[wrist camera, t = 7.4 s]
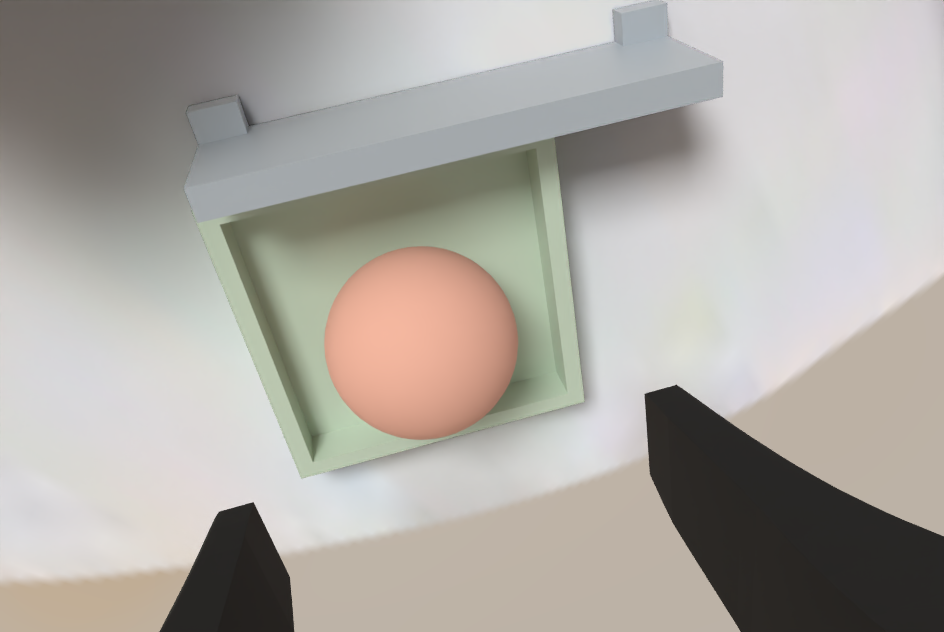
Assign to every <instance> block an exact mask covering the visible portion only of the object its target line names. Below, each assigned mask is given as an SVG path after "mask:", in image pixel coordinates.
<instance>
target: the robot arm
mask: <svg viewBox="0 0 944 632" xmlns="http://www.w3.org/2000/svg"><path fill="white" fill-rule="evenodd" d="M645 407H646V422H647V437H648V452H649V467H650V475H651V477H652V480H653V482H654V484H655V486H656V488H657V491H658V493H659V495H660V497H661V499H662V501H663V504H664V506H665V508H666V510H667V512H668V514H669V516H670V518H671V520H672V522H673V524H674V525H675V527H676V529H677V530H678V532H679V534H680V535H681V537H682V539H683V540H684V542H685V543H686V545H687V547H688V548H689V550H690V551H691V553H692V555H693V556H694V558H695V560H696V561H697V563H698V564H699V566H700V567H701V569H702V571H703V572H704V573H705V575H706V577H707V578H708V580H709V582H710V583H711V585H712V586H713V588H714V590H715V591H716V593H717V594H718V596H719V597H720V599H721V601H722V602H723V604H724V606H725V607H726V609H727V610H728V612H729V613H730V615H731V617H732V618H733V620H734V621H735V623H736V625H737V626H738V628H739V630H740V631H741V632H944V536H941V535H939V534H936V533H934V532H931V531H929V530H927V529H924V528H922V527H919V526H917V525H914V524H912V523H909V522H907V521H904V520H902V519H900V518H898V517H895V516H893V515H891V514H888V513H886V512H884V511H882V510H880V509H878V508H876V507H873V506H871V505H869V504H867V503H865V502H863V501H861V500H859V499H857V498H855V497H853V496H851V495H849V494H847V493H845V492H843V491H841V490H839V489H837V488H835V487H833V486H831V485H830V484H828V483H826V482H824V481H822V480H821V479H819V478H817V477H815V476H814V475H812V474H810V473H808V472H807V471H805V470H803V469H802V468H800V467H798V466H796V465H795V464H793V463H791V462H790V461H788V460H786V459H785V458H783V457H782V456H780V455H778V454H777V453H775V452H774V451H772V450H771V449H769V448H767V447H766V446H764V445H763V444H761V443H760V442H758V441H757V440H755V439H753V438H752V437H750V436H749V435H747V434H746V433H745V432H743V431H742V430H740V429H739V428H737V427H735V426H734V425H733V424H731V423H730V422H728V421H727V420H726V419H724V418H723V417H721V416H720V415H718V414H717V413H716V412H714V411H713V410H711V409H710V408H709V407H707V406H706V405H704V404H703V403H702V402H700V401H699V400H697V399H696V398H695V397H693V396H692V395H690V394H689V393H688V392H686V391H685V390H683V389H682V388H680V387H679V386H677V385H675V386H671V387H667V388H664V389H660V390H657V391H653V392H649V393H646V394H645ZM160 632H294V622H293V608H292V597H291V585H290V577H289V575H288V573H287V570H286V568H285V566H284V564H283V562H282V560H281V558H280V556H279V554H278V552H277V550H276V548H275V546H274V544H273V541H272V539H271V537H270V535H269V533H268V531H267V529H266V527H265V525H264V523H263V521H262V519H261V517H260V515H259V513H258V511H257V508H256V506H255V504H254V502H253V503H249V504H245V505H242V506H238V507H235V508H231V509H227V510H224V511H220V512H219V513H218V514H217V516H216V517H215V519H214V521H213V524H212V526H211V528H210V530H209V532H208V534H207V537H206V539H205V541H204V543H203V545H202V547H201V550H200V552H199V554H198V556H197V558H196V560H195V562H194V564H193V566H192V569H191V571H190V573H189V575H188V577H187V579H186V581H185V583H184V585H183V587H182V589H181V591H180V593H179V595H178V597H177V599H176V601H175V603H174V605H173V607H172V609H171V611H170V612H169V614H168V616H167V618H166V620H165V622H164V624H163V626H162V628H161V630H160Z"/></svg>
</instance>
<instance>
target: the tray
mask: <svg viewBox="0 0 944 632" xmlns="http://www.w3.org/2000/svg"><path fill="white" fill-rule="evenodd" d="M191 211H192V210H191ZM192 214H193V216H194V213H193V211H192ZM194 219H195V221H196V224H197V226H198V228H199V231H200V233H201V236H202V238H203V241H204V243H205V245H206V248H207V250H208V253H209V255H210V258H211V260H212V262H213V265H214V267H215V270H216V272H217V275H218V277H219V280H220V282H221V284H222V287H223V289H224V292H225V294H226V297H227V299H228V301H229V304H230V306H231V309H232V311H233V314H234V316H235V318H236V321H237V323H238V326H239V328H240V331H241V333H242V335H243V338H244V340H245V343H246V345H247V348H248V350H249V353H250V355H251V357H252V360H253V362H254V365H255V367H256V370H257V372H258V374H259V377H260V379H261V382H262V384H263V387H264V389H265V391H266V394H267V396H268V399H269V401H270V404H271V406H272V408H273V411H274V413H275V416H276V418H277V421H278V423H279V426H280V428H281V430H282V433H283V435H284V438H285V440H286V443H287V445H288V447H289V450H290V452H291V455H292V457H293V460H294V462H295V464H296V467H297V469H298V472H299V474H300V477H301V479H302V478H306V477H309V476H313V475H317V474H320V473H324V472H328V471H331V470H335V469H339V468H343V467H346V466H350V465H354V464H357V463H361V462H365V461H368V460H372V459H376V458H379V457H383V456H387V455H390V454H394V453H398V452H402V451H405V450H409V449H413V448H416V447H420V446H424V445H427V444H431V443H435V442H438V441H442V440H446V439H449V438H453V437H457V436H461V435H464V434H468V433H472V432H475V431H479V430H483V429H486V428H490V427H494V426H497V425H501V424H505V423H508V422H512V421H516V420H520V419H523V418H527V417H531V416H534V415H538V414H542V413H545V412H549V411H553V410H556V409H560V408H564V407H567V406H571V405H575V404H579V403H582V402H585V401H584V393H583V384H582V375H581V366H580V358H579V349H578V340H577V331H576V322H575V314H574V305H573V296H572V287H571V279H570V270H569V261H568V252H567V243H566V235H565V226H564V217H563V208H562V199H561V191H560V182H559V173H558V164H557V156H556V147H555V138H550V139H545V140H541V141H537V142H533V143H529V144H525V145H520V146H516V147H512V148H508V149H504V150H500V151H495V152H491V153H487V154H483V155H479V156H475V157H471V158H466V159H462V160H458V161H454V162H450V163H446V164H441V165H437V166H433V167H429V168H425V169H421V170H416V171H412V172H408V173H404V174H400V175H396V176H392V177H387V178H383V179H379V180H375V181H371V182H367V183H362V184H358V185H354V186H350V187H346V188H342V189H337V190H333V191H329V192H325V193H321V194H317V195H313V196H308V197H304V198H300V199H296V200H292V201H288V202H283V203H279V204H275V205H271V206H267V207H263V208H258V209H254V210H250V211H246V212H242V213H238V214H234V215H229V216H225V217H221V218H217V219H213V220H209V221H204V222H200V223H197V220H196V218H195V216H194ZM417 246H428V247H437V248H443V249H446V250H450V251H453V252H456V253H458V254H460V255H463V256H465V257H467V258H469V259H471V260H472V261H474V262H475V263H477V264H478V265H479V266H481V267H482V268H483V269H484V270H485V271H486V272H488V273H489V274H490V275H491V276H492V277H493V278H494V280H495V281H496V282H497V283H498V285H499V286H500V287H501V289H502V290H503V292H504V293H505V295H506V297H507V299H508V301H509V303H510V306H511V308H512V311H513V313H514V316H515V321H516V325H517V332H518V352H517V361H516V365H515V369H514V372H513V375H512V378H511V380H510V383H509V385H508V387H507V389H506V391H505V392H504V394H503V395H502V397H501V398H500V400H499V401H498V402H497V404H496V405H495V406H494V407H493V408H492V409H491V411H490V412H489V413H487V414H486V415H485V416H484V417H483V418H482V419H480V420H479V421H478V422H476V423H475V424H473V425H471V426H470V427H468V428H466V429H464V430H462V431H460V432H457V433H455V434H452V435H449V436H445V437H441V438H436V439H428V440H414V439H405V438H400V437H396V436H393V435H390V434H387V433H384V432H382V431H380V430H378V429H376V428H374V427H372V426H371V425H369V424H368V423H366V422H365V421H363V420H362V419H360V418H359V417H358V416H357V415H356V414H355V413H353V411H352V410H351V409H350V408H349V407H348V406H347V404H346V403H345V402H344V401H343V400H342V398H341V397H340V395H339V393H338V392H337V390H336V388H335V386H334V384H333V382H332V380H331V377H330V375H329V371H328V367H327V363H326V359H325V348H324V338H325V328H326V323H327V319H328V315H329V312H330V309H331V307H332V304H333V302H334V300H335V298H336V296H337V295H338V293H339V291H340V290H341V288H342V287H343V285H344V284H345V283H346V282H347V280H348V279H349V278H350V277H351V276H352V275H353V274H354V273H355V272H356V271H357V270H358V269H360V268H361V267H362V266H363V265H365V264H366V263H368V262H369V261H371V260H373V259H374V258H376V257H378V256H380V255H383V254H385V253H387V252H390V251H393V250H397V249H401V248H407V247H417Z"/></svg>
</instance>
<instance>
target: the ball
mask: <svg viewBox="0 0 944 632" xmlns="http://www.w3.org/2000/svg"><path fill="white" fill-rule="evenodd" d="M324 348H325V359H326V363H327V367H328V371H329V375H330V377H331V380H332V382H333V384H334V386H335V388H336V390H337V392H338V393H339V395H340V397H341V398H342V400H343V401H344V402H345V403H346V404H347V406H348V407H349V408H350V409H351V410H352V411H353V413H355V414H356V415H357V416H358V417H359V418H360V419H362V420H363V421H365V422H366V423H368V424H369V425H371V426H372V427H374V428H376V429H378V430H380V431H382V432H384V433H387V434H390V435H393V436H396V437H400V438H405V439H414V440H428V439H436V438H441V437H445V436H449V435H452V434H455V433H457V432H460V431H462V430H464V429H466V428H468V427H470V426H471V425H473V424H475V423H476V422H478V421H479V420H480V419H482V418H483V417H484V416H485V415H486V414H487V413H489V412H490V411H491V409H492V408H493V407H494V406H495V405H496V404H497V402H498V401H499V400H500V398H501V397H502V395H503V394H504V392H505V391H506V389H507V387H508V385H509V383H510V380H511V378H512V375H513V372H514V369H515V365H516V361H517V352H518V332H517V325H516V321H515V316H514V313H513V311H512V308H511V306H510V303H509V301H508V299H507V297H506V295H505V293H504V292H503V290H502V289H501V287H500V286H499V285H498V283H497V282H496V281H495V280H494V278H493V277H492V276H491V275H490V274H489V273H488V272H486V271H485V270H484V269H483V268H482V267H481V266H479V265H478V264H477V263H475V262H474V261H472V260H471V259H469V258H467V257H465V256H463V255H460V254H458V253H456V252H453V251H450V250H446V249H443V248H437V247H428V246H417V247H407V248H401V249H397V250H393V251H390V252H387V253H385V254H383V255H380V256H378V257H376V258H374V259H373V260H371V261H369V262H368V263H366V264H365V265H363V266H362V267H361V268H360V269H358V270H357V271H356V272H355V273H354V274H353V275H352V276H351V277H350V278H349V279H348V280H347V282H346V283H345V284H344V285H343V287H342V288H341V290H340V291H339V293H338V295H337V296H336V298H335V300H334V302H333V304H332V307H331V309H330V312H329V315H328V319H327V323H326V328H325V338H324Z"/></svg>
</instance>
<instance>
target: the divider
mask: <svg viewBox="0 0 944 632" xmlns="http://www.w3.org/2000/svg"><path fill="white" fill-rule="evenodd" d="M613 23H614V39H615V42H611V43H607V44H603V45H598V46H594V47H590V48H585V49H581V50H577V51H572V52H568V53H564V54H559V55H555V56H551V57H546V58H542V59H538V60H533V61H529V62H525V63H520V64H516V65H512V66H507V67H503V68H499V69H494V70H490V71H486V72H481V73H477V74H473V75H468V76H464V77H460V78H456V79H451V80H447V81H443V82H438V83H434V84H430V85H425V86H421V87H417V88H412V89H408V90H404V91H399V92H395V93H391V94H386V95H382V96H378V97H373V98H369V99H365V100H360V101H356V102H352V103H347V104H343V105H339V106H334V107H330V108H326V109H321V110H317V111H313V112H309V113H304V114H300V115H296V116H291V117H287V118H283V119H278V120H274V121H270V122H265V123H261V124H257V125H252V126H248V123H247V120H246V117H245V114H244V111H243V108H242V105H241V102H240V99H239V97H238V95H234V96H230V97H226V98H221V99H217V100H212V101H208V102H204V103H199V104H195V105H191V106H189V107H188V109H187V111H186V115H187V117H188V120H189V122H190V125H191V128H192V130H193V133H194V135H195V138H196V141H197V143H198V147H197V150H196V153H195V156H194V159H193V162H192V165H191V168H190V171H189V174H188V177H187V180H186V183H185V186H184V191H185V194H186V196H187V199H188V201H189V203H190V206H191V208H192V211H193V213H194V216H195V218H196V220H197V223H200V222H204V221H209V220H213V219H217V218H221V217H225V216H229V215H234V214H238V213H242V212H246V211H250V210H254V209H258V208H263V207H267V206H271V205H275V204H279V203H283V202H288V201H292V200H296V199H300V198H304V197H308V196H313V195H317V194H321V193H325V192H329V191H333V190H337V189H342V188H346V187H350V186H354V185H358V184H362V183H367V182H371V181H375V180H379V179H383V178H387V177H392V176H396V175H400V174H404V173H408V172H412V171H416V170H421V169H425V168H429V167H433V166H437V165H441V164H446V163H450V162H454V161H458V160H462V159H466V158H471V157H475V156H479V155H483V154H487V153H491V152H495V151H500V150H504V149H508V148H512V147H516V146H520V145H525V144H529V143H533V142H537V141H541V140H545V139H550V138H554V137H558V136H562V135H566V134H570V133H574V132H579V131H583V130H587V129H591V128H595V127H599V126H604V125H608V124H612V123H616V122H620V121H624V120H629V119H633V118H637V117H641V116H645V115H649V114H653V113H658V112H662V111H666V110H670V109H674V108H678V107H683V106H687V105H691V104H695V103H699V102H703V101H708V100H712V99H716V98H720V97H723V61H721V60H719V59H717V58H715V57H713V56H710V55H708V54H706V53H704V52H702V51H700V50H697V49H695V48H693V47H691V46H689V45H686V44H684V43H682V42H680V41H678V40H676V39H673V38H671V37H669V36H668V14H667V3H666V2H663V1H661V0H652V1H647V2H643V3H639V4H634V5H630V6H626V7H621V8H617V9H613Z"/></svg>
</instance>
